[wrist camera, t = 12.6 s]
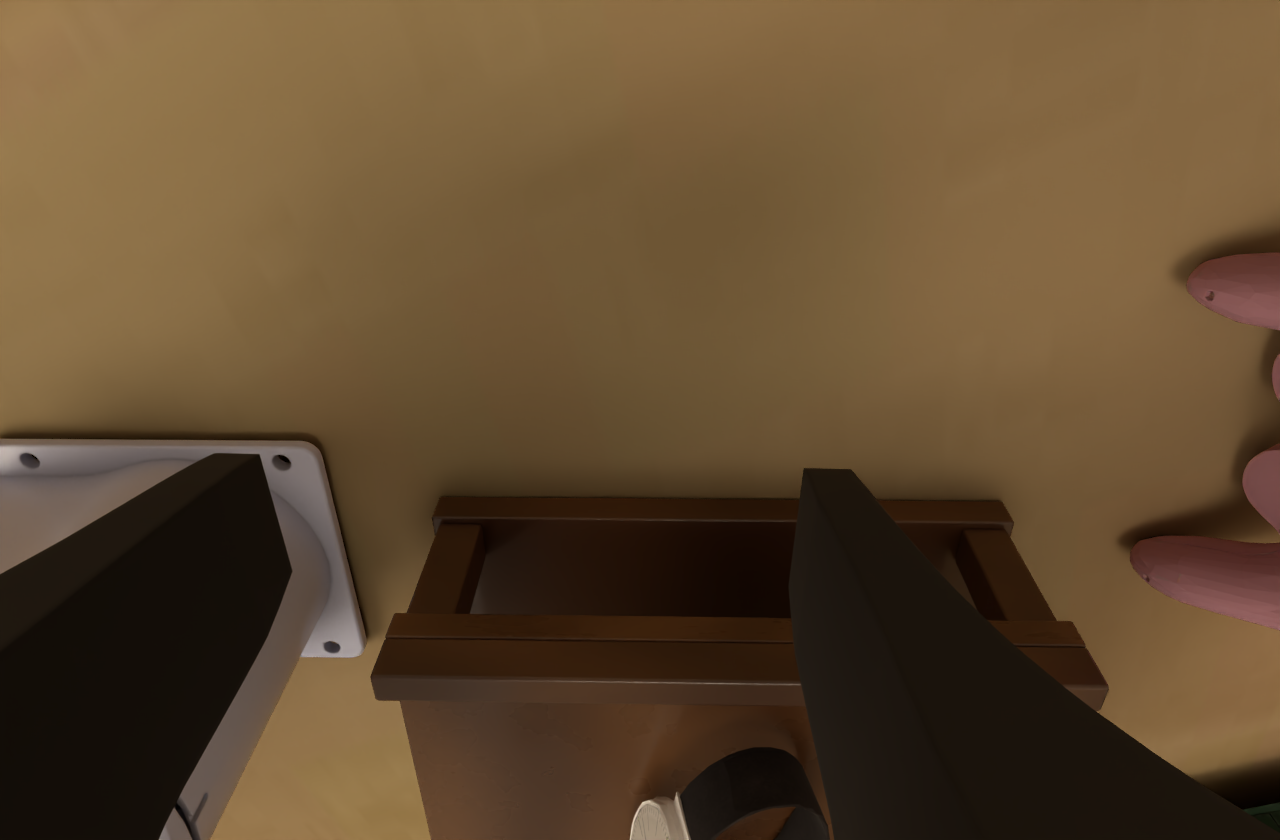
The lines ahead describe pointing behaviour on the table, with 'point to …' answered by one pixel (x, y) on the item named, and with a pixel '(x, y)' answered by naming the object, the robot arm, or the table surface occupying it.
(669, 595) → the shelf rack
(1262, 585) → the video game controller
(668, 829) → the watch
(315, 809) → the table surface
